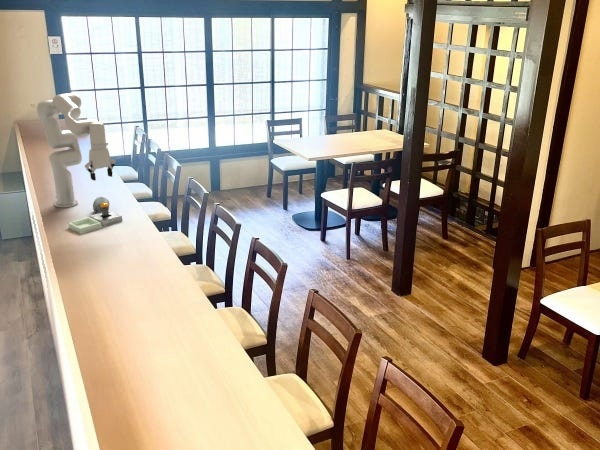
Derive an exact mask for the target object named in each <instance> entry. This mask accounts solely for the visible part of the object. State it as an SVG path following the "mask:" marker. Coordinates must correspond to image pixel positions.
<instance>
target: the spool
mask: <svg viewBox="0 0 600 450" xmlns="http://www.w3.org/2000/svg"><path fill="white" fill-rule="evenodd" d="M102 202H108V203H109V204H110V200H109V199H108V198H107V197H105V196H98V197H96V198H95V199H94V201H93V203H92V210H93V211H94V212H95V214H98V213H102V207H100V203H102ZM108 210H110V206H109V207H108Z"/></svg>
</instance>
